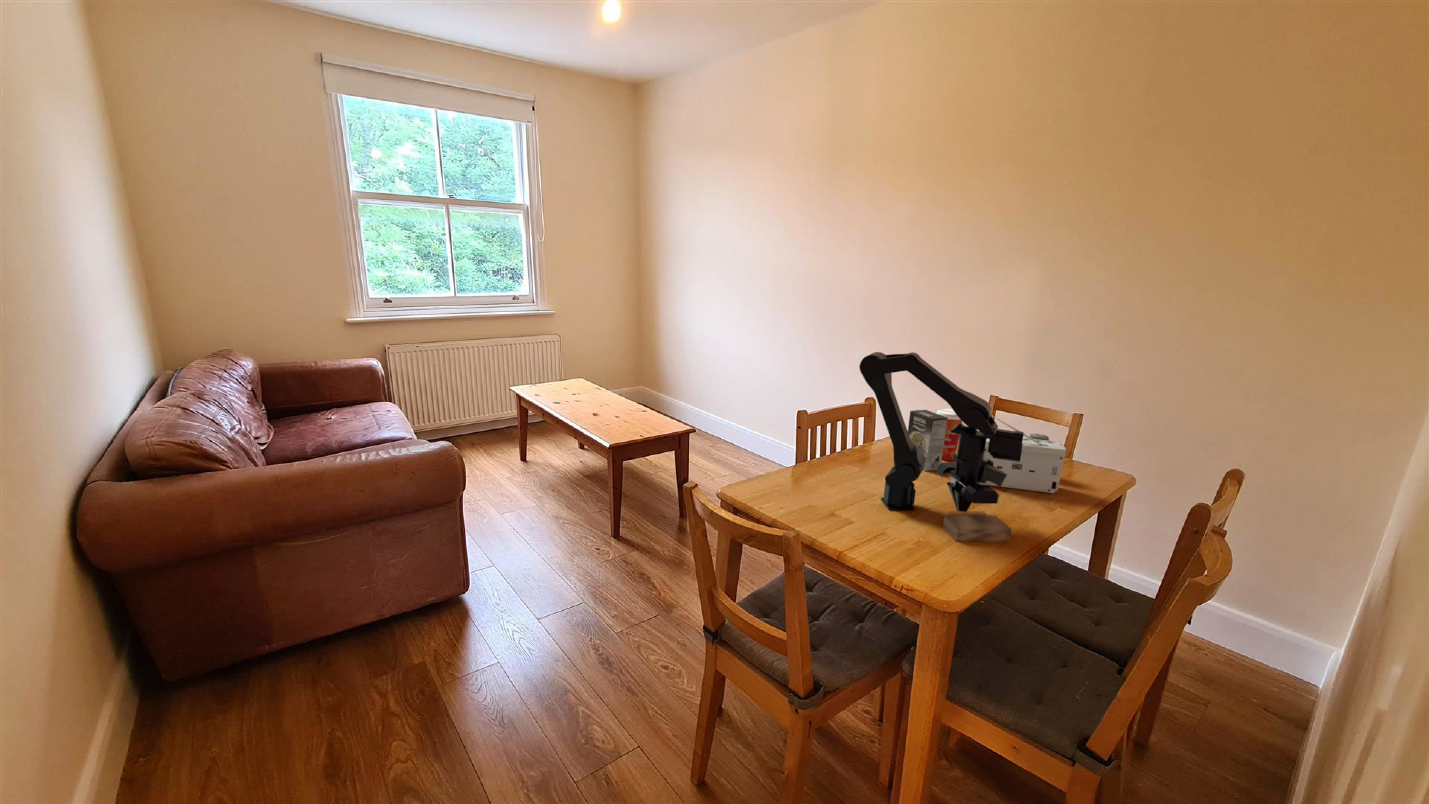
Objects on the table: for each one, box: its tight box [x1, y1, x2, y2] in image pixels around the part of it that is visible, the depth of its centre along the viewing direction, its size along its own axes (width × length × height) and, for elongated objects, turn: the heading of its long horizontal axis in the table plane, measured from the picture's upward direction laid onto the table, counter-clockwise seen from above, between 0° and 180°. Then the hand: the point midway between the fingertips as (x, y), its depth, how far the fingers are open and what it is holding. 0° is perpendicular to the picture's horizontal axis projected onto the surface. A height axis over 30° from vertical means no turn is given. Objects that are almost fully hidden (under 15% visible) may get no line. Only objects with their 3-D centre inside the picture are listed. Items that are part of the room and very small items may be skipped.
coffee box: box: [907, 409, 948, 472], centre depth 170 cm, size 9×6×16 cm
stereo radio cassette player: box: [978, 415, 1067, 494], centre depth 156 cm, size 21×8×20 cm, turn 74°
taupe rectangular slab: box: [942, 514, 1012, 543], centre depth 128 cm, size 12×7×3 cm, turn 92°
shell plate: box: [945, 510, 987, 515], centre depth 130 cm, size 9×8×3 cm
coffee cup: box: [935, 408, 963, 462], centre depth 177 cm, size 8×8×15 cm
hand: (961, 515), depth 135 cm, fingers closed
